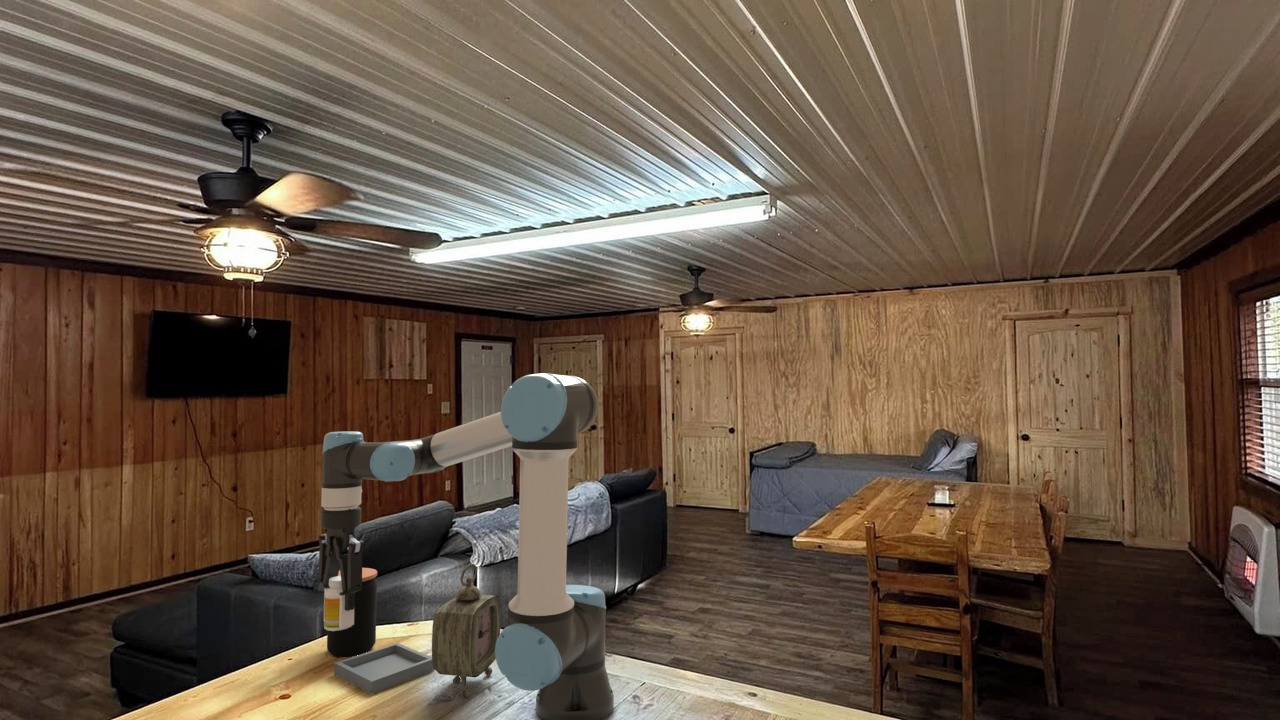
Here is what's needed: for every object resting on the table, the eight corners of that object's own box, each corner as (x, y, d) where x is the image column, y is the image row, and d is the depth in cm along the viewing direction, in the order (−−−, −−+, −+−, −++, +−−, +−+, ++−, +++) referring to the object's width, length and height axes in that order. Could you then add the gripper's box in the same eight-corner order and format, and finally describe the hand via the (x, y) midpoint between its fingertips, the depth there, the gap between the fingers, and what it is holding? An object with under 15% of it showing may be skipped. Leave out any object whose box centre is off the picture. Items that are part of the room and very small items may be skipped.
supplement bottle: (349, 630, 131) (350, 581, 131) (320, 632, 130) (321, 582, 130) (355, 621, 136) (357, 574, 137) (328, 623, 135) (329, 575, 136)
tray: (434, 670, 145) (435, 658, 145) (371, 694, 133) (371, 681, 133) (396, 653, 154) (397, 642, 154) (334, 674, 142) (334, 662, 143)
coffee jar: (317, 652, 155) (319, 574, 156) (359, 638, 164) (361, 565, 165) (342, 662, 149) (345, 582, 150) (384, 647, 158) (386, 572, 159)
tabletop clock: (469, 703, 130) (471, 574, 131) (427, 698, 131) (430, 572, 133) (499, 672, 144) (501, 557, 145) (461, 669, 146) (463, 555, 147)
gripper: (383, 509, 132) (380, 627, 130) (336, 500, 143) (333, 609, 142) (347, 514, 126) (344, 638, 124) (301, 505, 137) (298, 618, 136)
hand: (338, 622), depth 133 cm, fingers closed on supplement bottle, 5 cm apart
